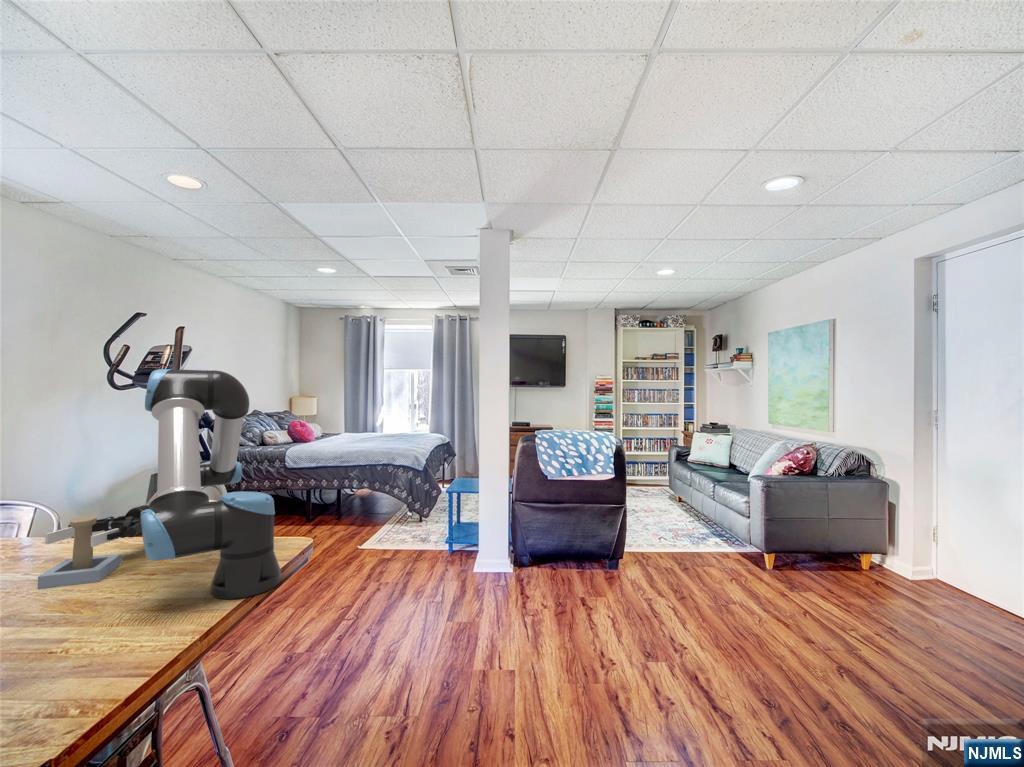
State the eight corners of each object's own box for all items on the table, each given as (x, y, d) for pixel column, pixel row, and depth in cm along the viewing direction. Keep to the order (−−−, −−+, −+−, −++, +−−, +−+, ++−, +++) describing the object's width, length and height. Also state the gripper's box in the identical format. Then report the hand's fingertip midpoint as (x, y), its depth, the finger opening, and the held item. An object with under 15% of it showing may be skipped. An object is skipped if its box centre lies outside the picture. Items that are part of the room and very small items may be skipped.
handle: (66, 582, 112) (67, 523, 113) (72, 573, 118) (74, 517, 118) (92, 577, 115) (93, 520, 115) (97, 569, 120) (98, 514, 121)
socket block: (99, 581, 113) (99, 569, 113) (37, 589, 108) (37, 576, 108) (121, 564, 124) (121, 553, 124) (66, 570, 120) (66, 559, 120)
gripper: (183, 531, 133) (111, 557, 112) (111, 527, 136) (27, 552, 115) (184, 506, 133) (111, 527, 112) (111, 503, 136) (28, 523, 115)
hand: (68, 540), depth 113 cm, fingers open, 13 cm apart
